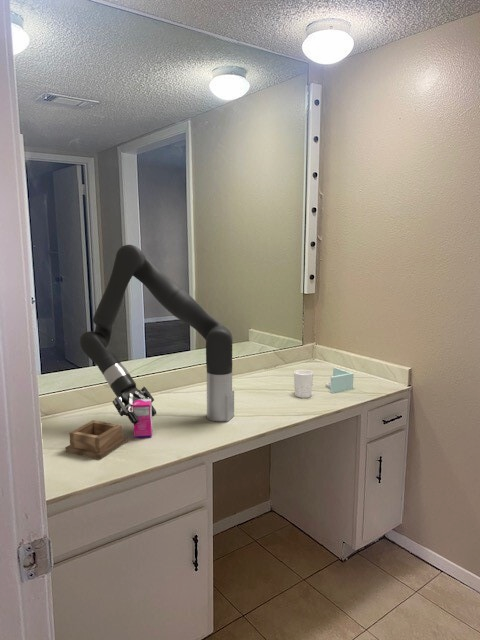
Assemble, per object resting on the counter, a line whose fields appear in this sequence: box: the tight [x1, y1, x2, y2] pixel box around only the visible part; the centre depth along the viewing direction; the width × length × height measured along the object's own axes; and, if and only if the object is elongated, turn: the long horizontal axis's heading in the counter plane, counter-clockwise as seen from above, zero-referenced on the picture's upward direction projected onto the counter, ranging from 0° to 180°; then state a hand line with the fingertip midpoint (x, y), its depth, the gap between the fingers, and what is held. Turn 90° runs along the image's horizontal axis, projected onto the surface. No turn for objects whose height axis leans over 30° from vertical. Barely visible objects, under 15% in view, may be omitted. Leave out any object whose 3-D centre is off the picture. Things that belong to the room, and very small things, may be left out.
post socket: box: [64, 419, 127, 460], centre depth 151 cm, size 13×13×6 cm
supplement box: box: [132, 398, 154, 439], centre depth 161 cm, size 6×6×12 cm
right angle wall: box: [325, 366, 355, 394], centre depth 213 cm, size 12×12×8 cm
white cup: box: [293, 369, 314, 399], centre depth 202 cm, size 8×8×10 cm
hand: (145, 419), depth 160 cm, fingers closed on supplement box, 8 cm apart
